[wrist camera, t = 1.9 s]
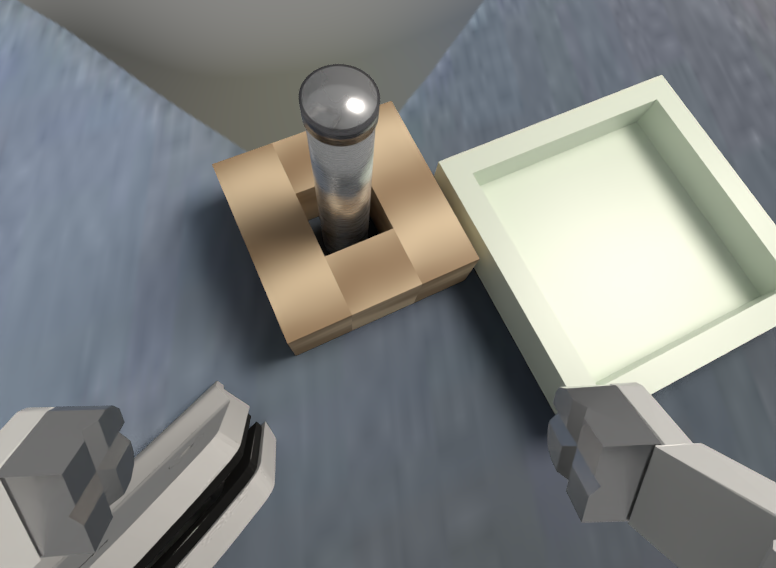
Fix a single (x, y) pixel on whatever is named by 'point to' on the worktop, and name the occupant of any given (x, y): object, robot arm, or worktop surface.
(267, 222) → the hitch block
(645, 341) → the sage tray
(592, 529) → the worktop surface
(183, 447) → the grey slotted holder
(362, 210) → the steel pin
